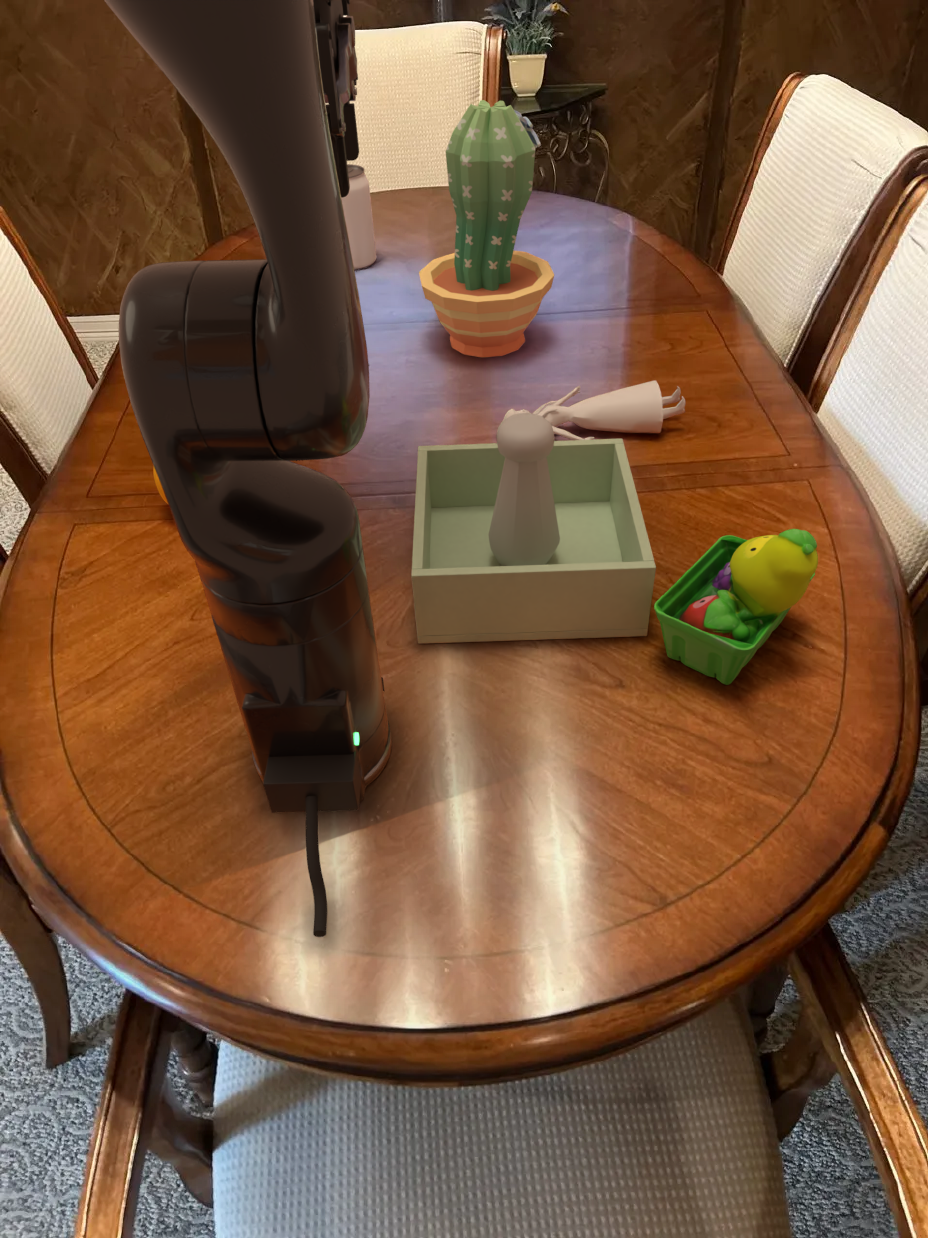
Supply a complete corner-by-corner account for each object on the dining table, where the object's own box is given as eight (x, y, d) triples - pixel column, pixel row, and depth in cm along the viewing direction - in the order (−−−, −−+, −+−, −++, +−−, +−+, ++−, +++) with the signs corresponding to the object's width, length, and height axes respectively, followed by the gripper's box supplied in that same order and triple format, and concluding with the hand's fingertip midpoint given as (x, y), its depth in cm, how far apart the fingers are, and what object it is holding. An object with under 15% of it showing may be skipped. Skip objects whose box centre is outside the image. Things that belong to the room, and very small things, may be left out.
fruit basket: (715, 580, 75) (738, 462, 67) (819, 625, 70) (857, 504, 63) (642, 659, 68) (658, 538, 61) (752, 713, 64) (784, 590, 56)
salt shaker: (524, 592, 73) (525, 452, 64) (474, 561, 76) (469, 423, 68) (573, 559, 76) (580, 420, 67) (523, 530, 79) (524, 394, 70)
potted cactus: (575, 353, 105) (587, 111, 88) (450, 381, 101) (437, 134, 84) (519, 303, 116) (521, 79, 99) (404, 326, 112) (385, 97, 95)
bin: (647, 636, 70) (656, 567, 65) (417, 643, 70) (411, 575, 66) (616, 503, 83) (622, 438, 78) (423, 510, 83) (418, 445, 79)
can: (323, 269, 127) (310, 176, 119) (341, 251, 131) (330, 161, 123) (366, 272, 125) (356, 179, 117) (383, 255, 130) (374, 164, 122)
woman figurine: (697, 411, 85) (506, 433, 86) (694, 452, 88) (509, 473, 89) (671, 354, 94) (497, 375, 95) (669, 393, 97) (500, 413, 98)
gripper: (358, -101, 50) (386, 208, 61) (374, -121, 61) (396, 146, 71) (221, -95, 50) (274, 212, 61) (262, -115, 61) (300, 150, 72)
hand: (340, 176), depth 66 cm, fingers open, 8 cm apart
